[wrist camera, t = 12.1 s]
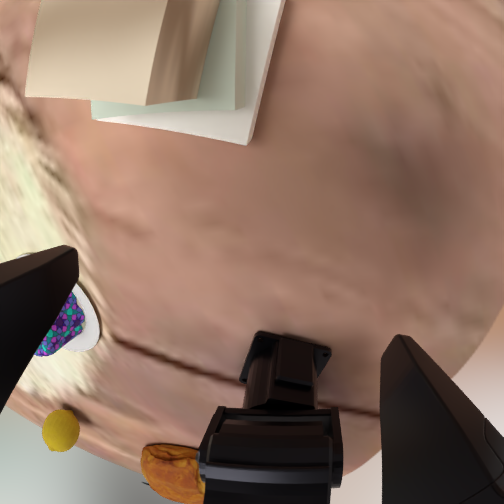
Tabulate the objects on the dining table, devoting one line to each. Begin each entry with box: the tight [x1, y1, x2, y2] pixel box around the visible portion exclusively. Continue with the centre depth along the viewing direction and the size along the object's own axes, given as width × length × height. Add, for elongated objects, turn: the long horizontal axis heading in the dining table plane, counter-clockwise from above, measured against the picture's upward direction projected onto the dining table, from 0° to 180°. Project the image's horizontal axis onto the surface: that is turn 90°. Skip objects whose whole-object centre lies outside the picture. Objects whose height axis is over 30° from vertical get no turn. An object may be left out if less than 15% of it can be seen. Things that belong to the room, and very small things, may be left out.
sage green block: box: [91, 0, 247, 120], centre depth 12 cm, size 7×7×3 cm
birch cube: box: [25, 0, 220, 106], centre depth 9 cm, size 5×5×5 cm
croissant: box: [141, 444, 205, 504], centre depth 38 cm, size 14×16×8 cm
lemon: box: [42, 410, 80, 452], centre depth 35 cm, size 6×6×8 cm
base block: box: [97, 0, 286, 146], centre depth 15 cm, size 9×9×3 cm
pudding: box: [16, 254, 100, 357], centre depth 26 cm, size 12×12×5 cm
